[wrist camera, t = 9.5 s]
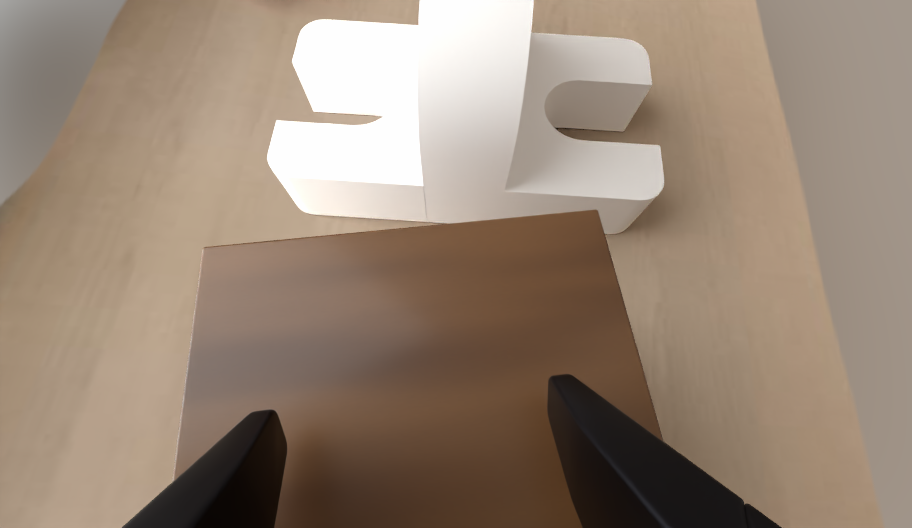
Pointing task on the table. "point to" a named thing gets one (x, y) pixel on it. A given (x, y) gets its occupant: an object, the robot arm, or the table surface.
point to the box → (412, 366)
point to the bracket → (466, 120)
